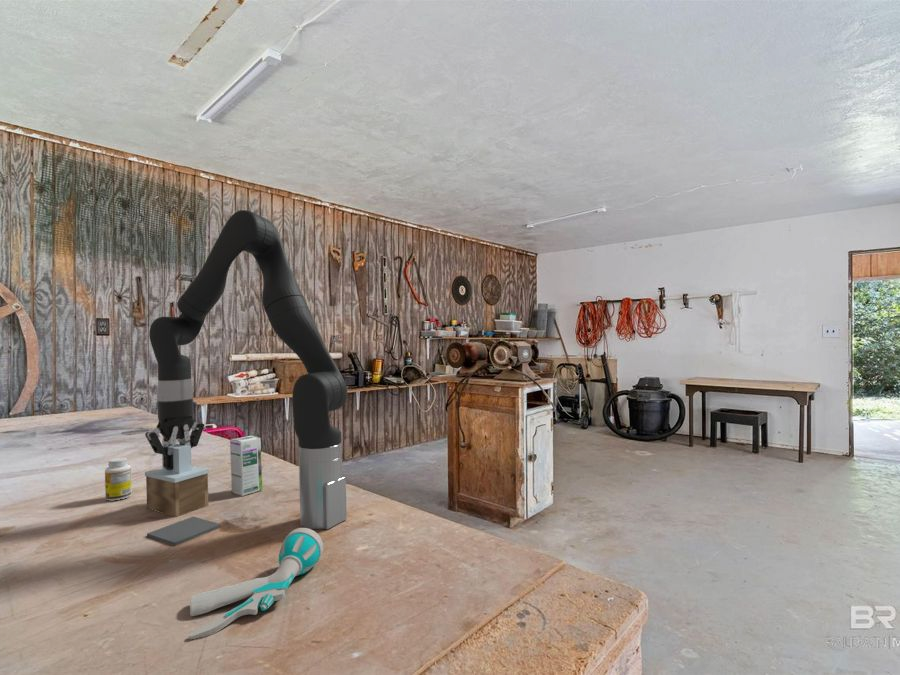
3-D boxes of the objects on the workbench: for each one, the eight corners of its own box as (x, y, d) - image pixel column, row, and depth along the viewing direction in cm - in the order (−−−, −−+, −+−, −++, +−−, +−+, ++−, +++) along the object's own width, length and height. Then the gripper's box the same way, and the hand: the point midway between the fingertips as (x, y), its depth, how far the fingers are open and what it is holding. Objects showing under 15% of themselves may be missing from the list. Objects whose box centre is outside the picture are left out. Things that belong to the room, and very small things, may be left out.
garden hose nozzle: (178, 618, 61) (329, 571, 68) (198, 549, 77) (318, 518, 84) (187, 665, 62) (335, 615, 69) (205, 588, 78) (323, 553, 85)
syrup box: (242, 496, 118) (240, 441, 118) (230, 492, 122) (229, 438, 122) (262, 490, 123) (261, 437, 123) (251, 486, 126) (249, 434, 126)
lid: (208, 476, 113) (208, 444, 113) (174, 486, 105) (174, 452, 105) (179, 470, 119) (178, 440, 119) (144, 479, 111) (144, 447, 111)
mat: (221, 526, 99) (221, 524, 99) (175, 545, 91) (175, 542, 91) (193, 518, 104) (193, 516, 104) (146, 536, 95) (146, 533, 95)
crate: (208, 505, 113) (207, 473, 113) (175, 516, 106) (175, 482, 106) (179, 497, 118) (178, 467, 118) (146, 508, 111) (146, 475, 111)
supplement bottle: (109, 496, 121) (108, 458, 121) (134, 493, 123) (133, 455, 123) (102, 503, 116) (101, 463, 116) (128, 499, 118) (127, 460, 118)
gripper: (154, 402, 104) (156, 477, 104) (211, 395, 116) (213, 462, 116) (136, 401, 108) (137, 473, 108) (193, 393, 120) (195, 459, 120)
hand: (177, 467), depth 112 cm, fingers closed on lid, 3 cm apart
